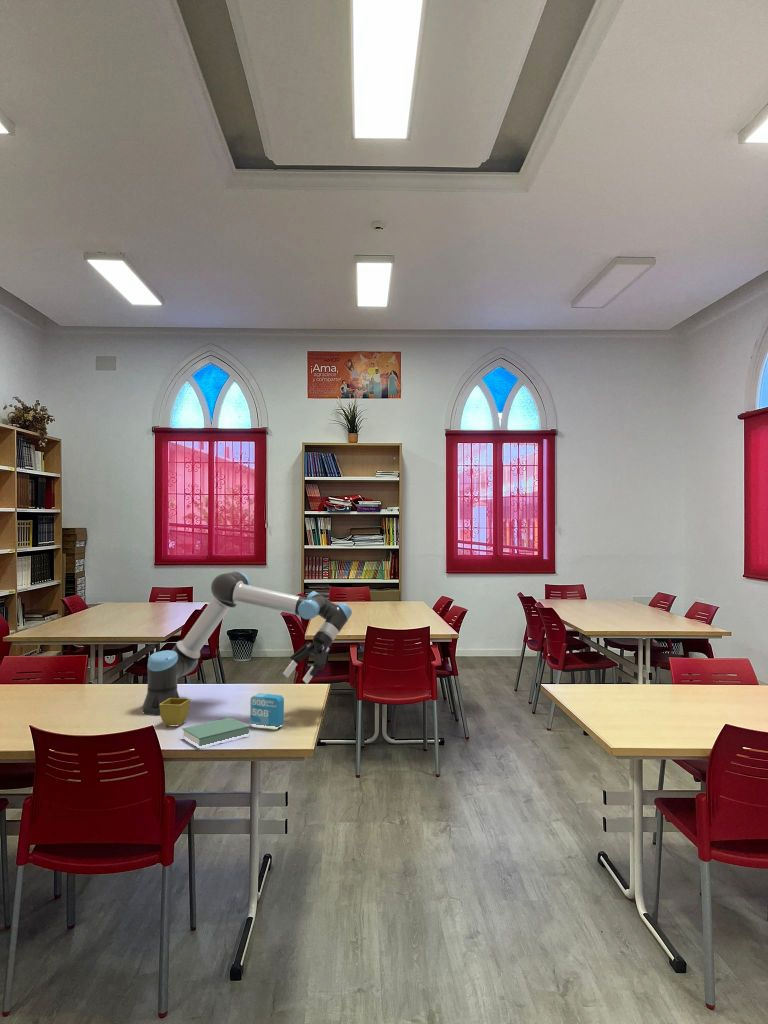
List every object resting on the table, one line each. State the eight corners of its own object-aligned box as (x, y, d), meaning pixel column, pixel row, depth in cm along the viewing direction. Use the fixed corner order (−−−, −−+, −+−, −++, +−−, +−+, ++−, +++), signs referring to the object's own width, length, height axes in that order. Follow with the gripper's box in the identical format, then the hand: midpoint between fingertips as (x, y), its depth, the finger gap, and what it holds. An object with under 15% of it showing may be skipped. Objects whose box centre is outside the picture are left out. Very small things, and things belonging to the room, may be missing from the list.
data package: (249, 727, 230) (250, 695, 230) (255, 723, 234) (256, 692, 235) (278, 730, 226) (278, 698, 227) (283, 727, 231) (284, 695, 231)
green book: (182, 739, 217) (182, 728, 217) (230, 728, 230) (230, 717, 230) (199, 750, 207) (199, 738, 207) (249, 737, 220) (249, 726, 220)
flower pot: (158, 727, 229) (158, 703, 229) (169, 720, 238) (169, 697, 238) (180, 729, 228) (180, 704, 228) (190, 721, 237) (190, 698, 237)
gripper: (349, 645, 242) (319, 690, 231) (313, 637, 260) (283, 678, 250) (339, 633, 239) (307, 678, 228) (302, 626, 257) (272, 667, 247)
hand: (294, 678), depth 239 cm, fingers open, 13 cm apart
